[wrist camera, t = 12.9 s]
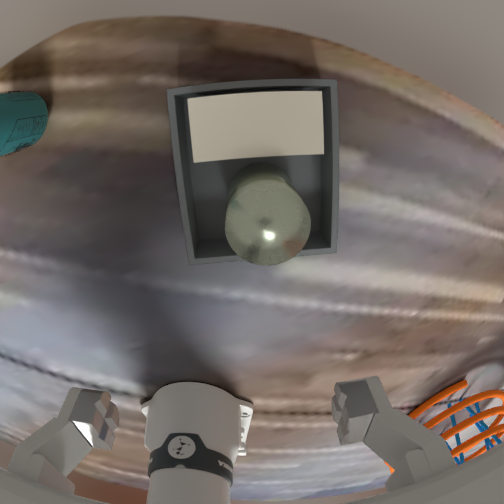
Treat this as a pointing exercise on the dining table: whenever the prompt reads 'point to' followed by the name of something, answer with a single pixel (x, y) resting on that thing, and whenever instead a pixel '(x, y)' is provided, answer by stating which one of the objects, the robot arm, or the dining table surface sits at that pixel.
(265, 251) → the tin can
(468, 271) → the dining table surface
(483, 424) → the orange spiral coil rods
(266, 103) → the cream rectangular block
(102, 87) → the dining table surface
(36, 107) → the beverage bottle
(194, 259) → the tote
